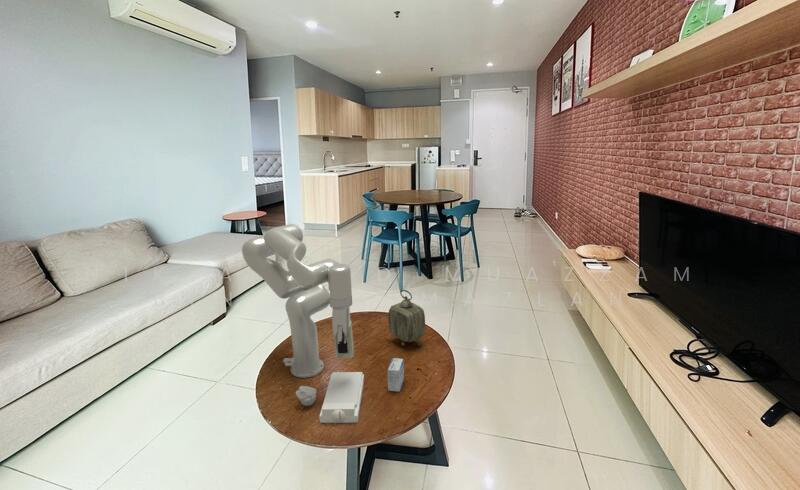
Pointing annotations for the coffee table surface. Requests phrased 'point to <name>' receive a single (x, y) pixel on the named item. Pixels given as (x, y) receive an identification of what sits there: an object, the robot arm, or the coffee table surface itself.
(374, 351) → the coffee table surface
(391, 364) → the medicine box
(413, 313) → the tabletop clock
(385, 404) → the coffee table surface
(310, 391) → the grey lumpy chunk
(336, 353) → the skincare box
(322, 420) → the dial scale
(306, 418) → the coffee table surface
